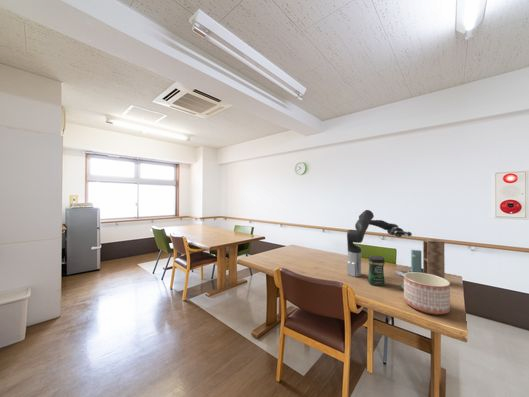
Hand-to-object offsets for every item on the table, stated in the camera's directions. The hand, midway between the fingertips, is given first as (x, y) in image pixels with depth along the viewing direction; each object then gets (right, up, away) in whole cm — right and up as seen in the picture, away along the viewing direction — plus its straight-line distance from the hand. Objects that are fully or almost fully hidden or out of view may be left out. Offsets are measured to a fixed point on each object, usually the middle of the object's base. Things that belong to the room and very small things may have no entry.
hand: (403, 234), depth 165 cm
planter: (-24, -29, -54) cm, 66 cm away
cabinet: (+3, -28, -17) cm, 33 cm away
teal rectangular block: (+1, -27, -13) cm, 30 cm away
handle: (-15, -29, -37) cm, 49 cm away
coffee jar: (-34, -29, -25) cm, 51 cm away
